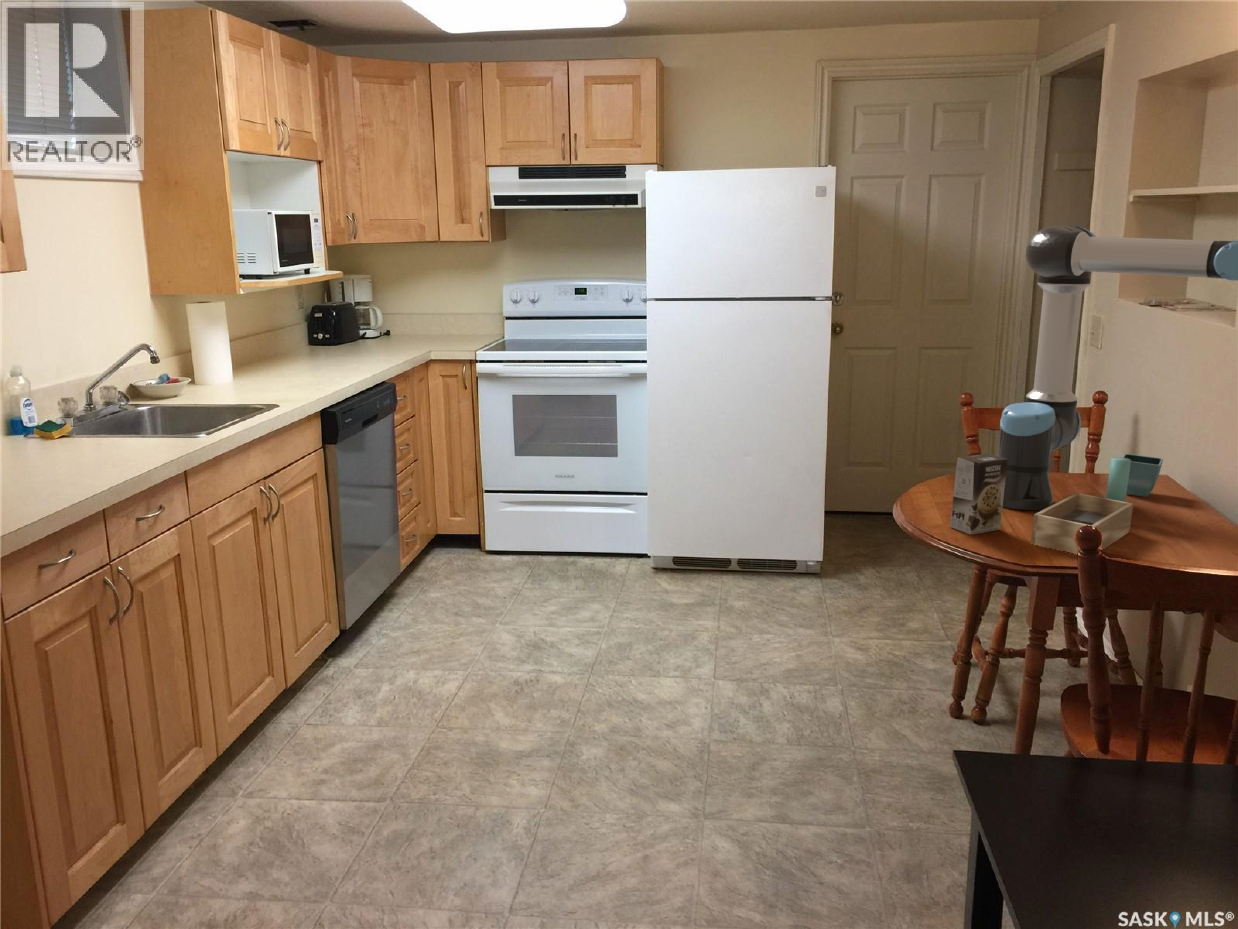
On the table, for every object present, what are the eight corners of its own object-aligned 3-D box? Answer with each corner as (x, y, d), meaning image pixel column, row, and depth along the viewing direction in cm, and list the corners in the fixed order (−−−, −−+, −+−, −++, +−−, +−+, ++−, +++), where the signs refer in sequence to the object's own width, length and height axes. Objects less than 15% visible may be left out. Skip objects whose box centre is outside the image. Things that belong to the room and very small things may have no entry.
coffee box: (971, 535, 213) (978, 462, 209) (948, 527, 218) (955, 456, 214) (1001, 530, 217) (1009, 458, 213) (978, 522, 222) (986, 452, 218)
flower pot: (1158, 492, 248) (1163, 457, 246) (1155, 500, 241) (1160, 465, 239) (1119, 487, 253) (1124, 453, 250) (1115, 495, 245) (1120, 460, 243)
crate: (1030, 544, 207) (1034, 514, 206) (1072, 520, 224) (1076, 492, 222) (1090, 557, 199) (1094, 527, 198) (1129, 532, 216) (1133, 503, 214)
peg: (1100, 518, 226) (1108, 459, 222) (1106, 515, 228) (1114, 456, 225) (1119, 522, 223) (1127, 462, 220) (1125, 518, 226) (1133, 459, 222)
